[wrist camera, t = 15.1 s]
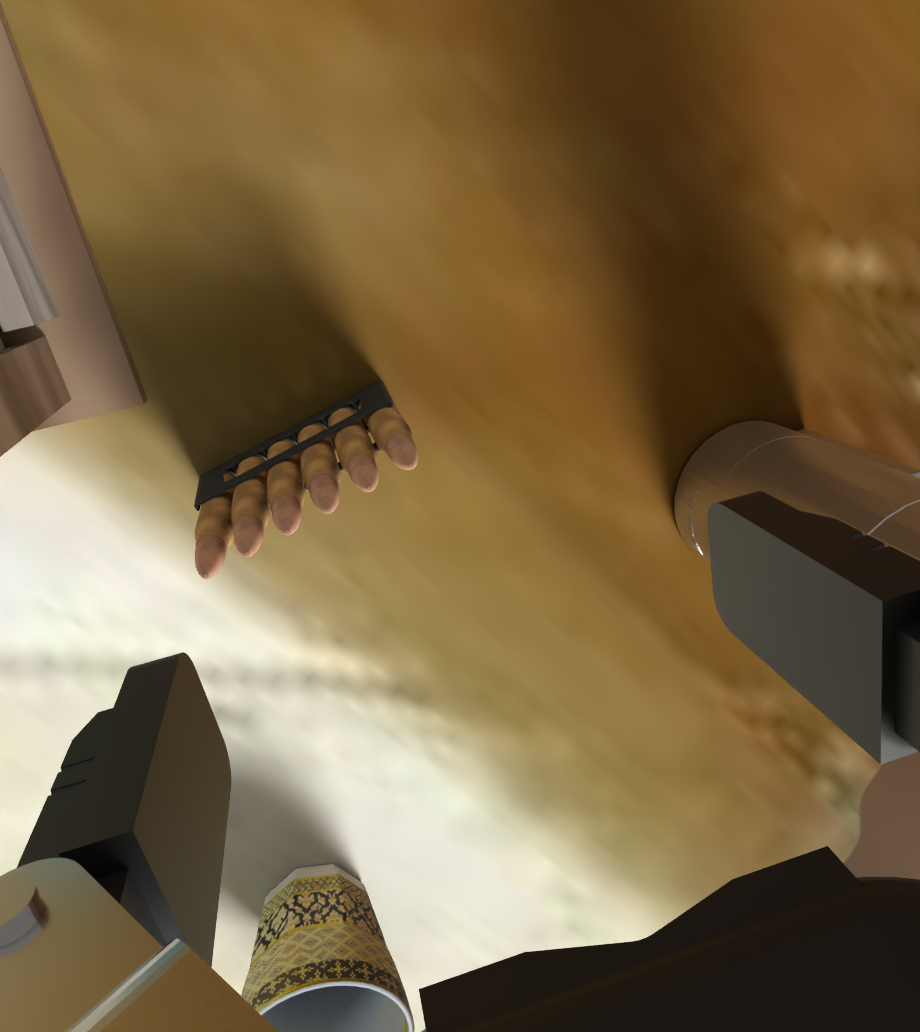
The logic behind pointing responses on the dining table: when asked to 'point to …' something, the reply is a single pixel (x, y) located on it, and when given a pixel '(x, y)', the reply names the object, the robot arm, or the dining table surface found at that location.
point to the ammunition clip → (297, 473)
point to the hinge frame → (49, 282)
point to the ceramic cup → (324, 959)
